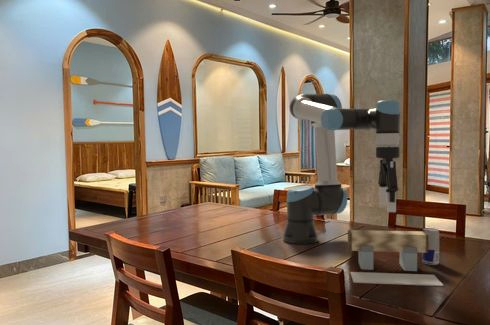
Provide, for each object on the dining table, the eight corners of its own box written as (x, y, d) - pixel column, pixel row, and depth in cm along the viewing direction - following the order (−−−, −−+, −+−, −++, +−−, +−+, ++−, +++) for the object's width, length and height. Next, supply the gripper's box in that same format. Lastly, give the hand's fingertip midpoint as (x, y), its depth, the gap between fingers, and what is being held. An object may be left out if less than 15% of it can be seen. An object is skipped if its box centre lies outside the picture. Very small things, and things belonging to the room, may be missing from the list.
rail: (349, 250, 138) (349, 233, 138) (347, 246, 143) (347, 230, 143) (428, 252, 135) (428, 235, 134) (423, 248, 140) (424, 231, 139)
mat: (353, 282, 125) (353, 281, 125) (350, 273, 133) (350, 271, 133) (443, 286, 121) (443, 284, 121) (433, 276, 130) (433, 274, 129)
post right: (404, 270, 135) (404, 247, 134) (399, 263, 142) (399, 241, 142) (417, 271, 134) (417, 247, 134) (411, 264, 142) (411, 241, 141)
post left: (361, 269, 137) (361, 246, 137) (358, 262, 144) (358, 240, 144) (373, 269, 136) (373, 246, 136) (370, 263, 144) (370, 240, 143)
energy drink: (419, 261, 145) (419, 228, 145) (433, 260, 146) (434, 227, 145) (427, 265, 140) (427, 231, 139) (442, 265, 140) (442, 230, 140)
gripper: (408, 146, 124) (407, 215, 125) (391, 145, 149) (391, 202, 150) (382, 147, 125) (382, 215, 126) (370, 145, 150) (370, 202, 151)
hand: (387, 208), depth 138 cm, fingers open, 13 cm apart
